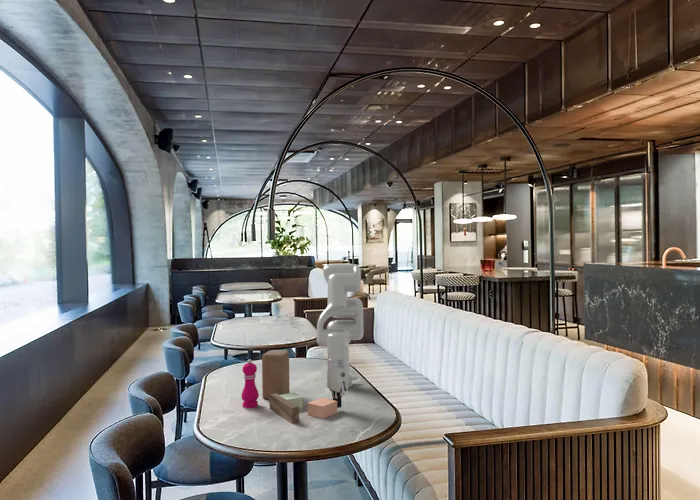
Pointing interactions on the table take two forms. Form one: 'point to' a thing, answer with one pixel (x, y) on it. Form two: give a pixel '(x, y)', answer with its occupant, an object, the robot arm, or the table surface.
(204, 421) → the table surface
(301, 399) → the sage block
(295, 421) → the walnut board
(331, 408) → the terracotta block
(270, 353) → the wooden block
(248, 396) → the pepper mill
